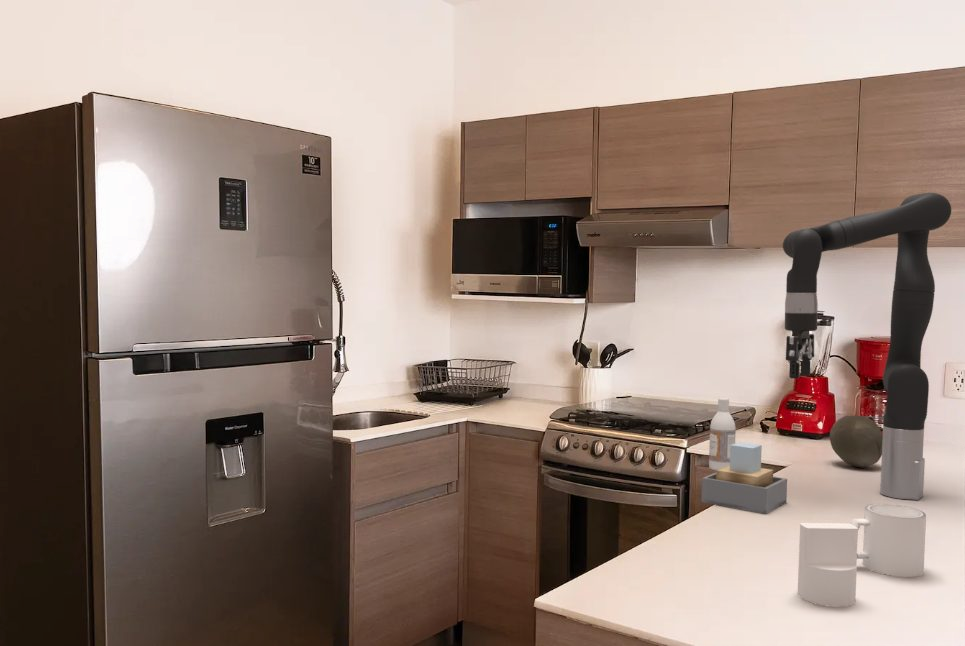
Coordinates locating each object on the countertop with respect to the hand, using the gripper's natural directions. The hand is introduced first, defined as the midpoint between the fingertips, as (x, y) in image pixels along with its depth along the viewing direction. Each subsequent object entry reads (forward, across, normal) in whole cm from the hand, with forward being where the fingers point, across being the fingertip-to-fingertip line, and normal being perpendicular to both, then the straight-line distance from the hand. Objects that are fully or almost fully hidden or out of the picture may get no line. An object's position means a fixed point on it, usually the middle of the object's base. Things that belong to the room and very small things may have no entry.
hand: (800, 376), depth 209 cm
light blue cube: (+22, -16, +8) cm, 28 cm away
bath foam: (+29, +16, +26) cm, 43 cm away
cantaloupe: (+30, +46, -2) cm, 55 cm away
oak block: (+28, -16, +8) cm, 34 cm away
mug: (+30, -44, -30) cm, 61 cm away
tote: (+29, -16, +8) cm, 34 cm away
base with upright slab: (+30, -67, -26) cm, 78 cm away
